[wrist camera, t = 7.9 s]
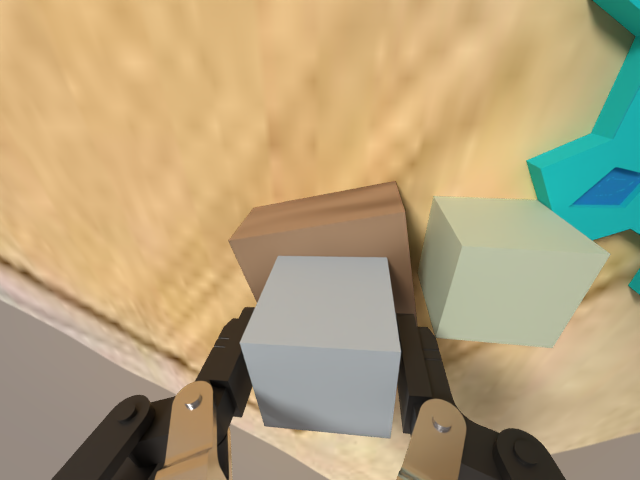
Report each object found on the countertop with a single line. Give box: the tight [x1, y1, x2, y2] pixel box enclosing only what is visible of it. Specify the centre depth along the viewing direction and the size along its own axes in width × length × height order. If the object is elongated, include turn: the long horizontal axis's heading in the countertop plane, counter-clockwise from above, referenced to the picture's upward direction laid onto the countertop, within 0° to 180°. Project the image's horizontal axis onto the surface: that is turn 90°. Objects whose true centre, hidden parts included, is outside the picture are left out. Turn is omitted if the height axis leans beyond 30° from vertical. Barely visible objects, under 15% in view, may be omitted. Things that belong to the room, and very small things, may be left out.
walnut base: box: [228, 181, 418, 327], centre depth 16 cm, size 8×8×4 cm
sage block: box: [418, 196, 610, 348], centre depth 14 cm, size 5×5×5 cm
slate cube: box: [240, 256, 401, 438], centre depth 12 cm, size 5×5×5 cm
